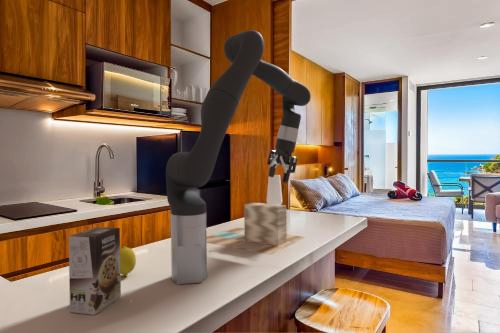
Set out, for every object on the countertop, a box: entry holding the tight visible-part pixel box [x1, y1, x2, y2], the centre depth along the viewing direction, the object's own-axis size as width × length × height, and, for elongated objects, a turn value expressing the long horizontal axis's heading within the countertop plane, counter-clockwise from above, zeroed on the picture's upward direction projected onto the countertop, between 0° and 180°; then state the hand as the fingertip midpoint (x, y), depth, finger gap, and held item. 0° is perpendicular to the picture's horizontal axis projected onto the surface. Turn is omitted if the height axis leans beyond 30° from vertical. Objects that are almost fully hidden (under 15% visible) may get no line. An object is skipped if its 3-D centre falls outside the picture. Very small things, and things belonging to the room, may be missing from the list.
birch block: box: [243, 202, 287, 246], centre depth 119 cm, size 14×6×13 cm, turn 56°
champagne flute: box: [266, 174, 283, 205], centre depth 139 cm, size 7×7×24 cm
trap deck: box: [206, 227, 306, 255], centre depth 123 cm, size 32×26×2 cm
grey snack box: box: [68, 226, 122, 316], centre depth 72 cm, size 9×6×16 cm
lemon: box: [120, 245, 137, 277], centre depth 89 cm, size 6×6×8 cm
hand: (277, 179), depth 129 cm, fingers open, 8 cm apart
